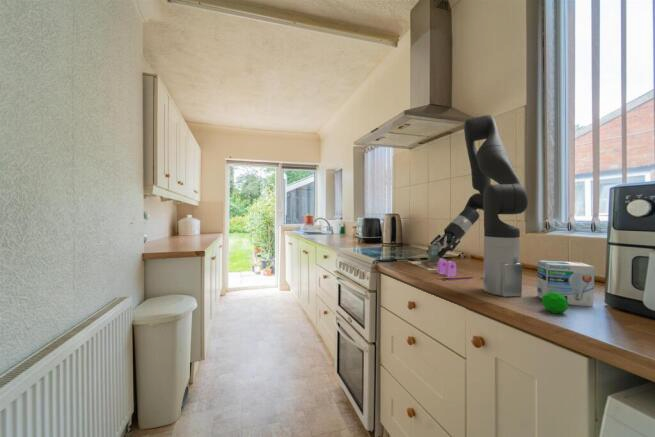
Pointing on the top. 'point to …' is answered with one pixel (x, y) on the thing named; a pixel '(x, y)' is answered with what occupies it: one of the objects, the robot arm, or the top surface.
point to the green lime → (555, 302)
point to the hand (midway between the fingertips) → (433, 254)
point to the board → (420, 264)
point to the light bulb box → (567, 281)
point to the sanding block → (432, 257)
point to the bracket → (448, 269)
